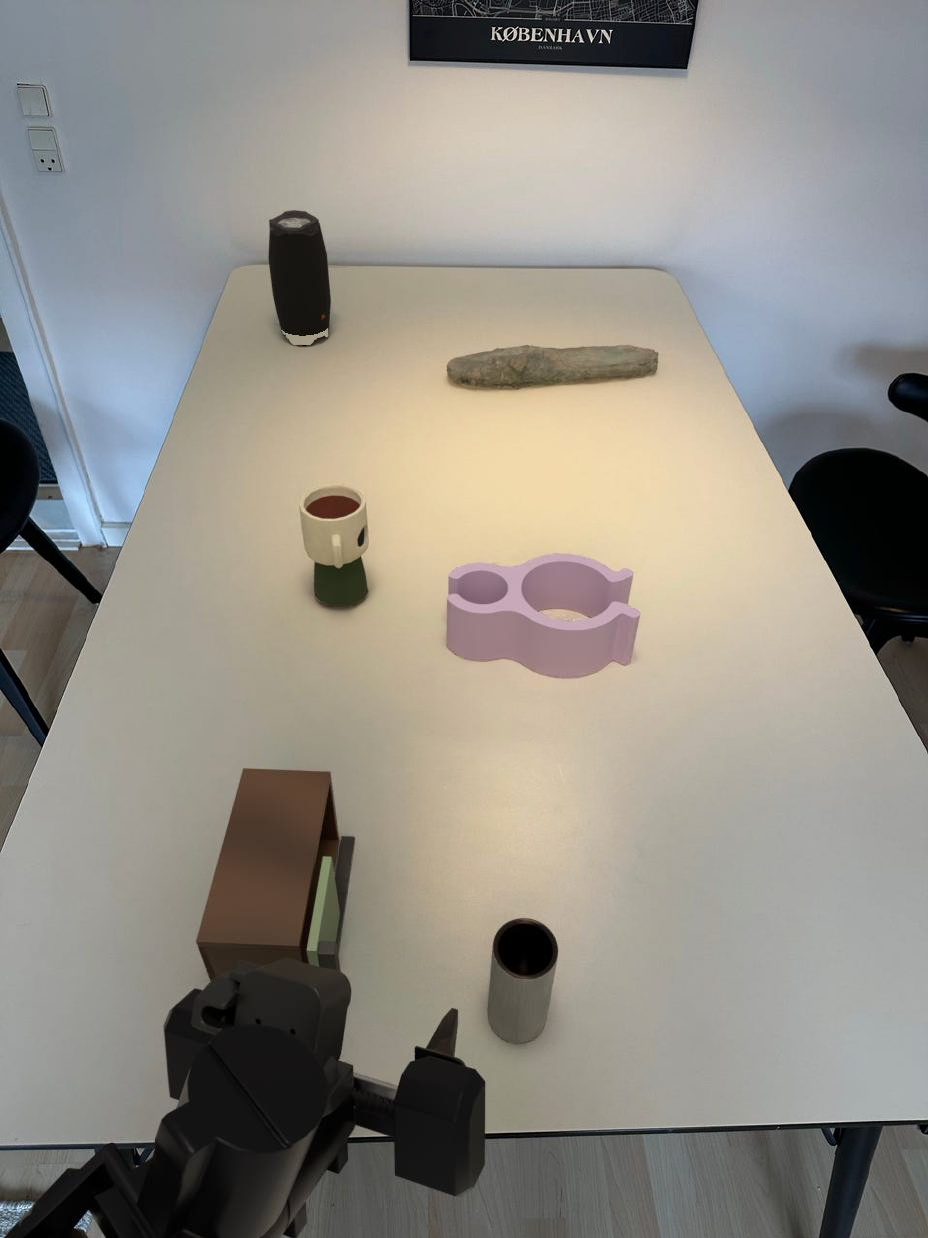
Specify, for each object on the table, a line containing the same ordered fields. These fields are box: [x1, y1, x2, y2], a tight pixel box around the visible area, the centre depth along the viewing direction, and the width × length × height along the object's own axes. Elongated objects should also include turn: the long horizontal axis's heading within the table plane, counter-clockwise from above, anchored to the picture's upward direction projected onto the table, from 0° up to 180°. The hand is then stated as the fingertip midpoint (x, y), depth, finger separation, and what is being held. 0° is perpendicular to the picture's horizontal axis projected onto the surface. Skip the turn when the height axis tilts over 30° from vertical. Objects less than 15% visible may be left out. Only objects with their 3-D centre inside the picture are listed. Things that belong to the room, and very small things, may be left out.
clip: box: [446, 552, 641, 679], centre depth 98 cm, size 20×12×7 cm, turn 88°
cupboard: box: [195, 767, 356, 982], centre depth 71 cm, size 15×9×10 cm, turn 178°
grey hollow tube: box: [487, 917, 559, 1044], centre depth 65 cm, size 4×4×10 cm
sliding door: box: [307, 856, 342, 972], centre depth 68 cm, size 8×2×8 cm, turn 178°
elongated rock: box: [446, 344, 660, 390], centre depth 144 cm, size 35×5×10 cm
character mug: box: [298, 483, 370, 607], centre depth 100 cm, size 11×7×13 cm, turn 9°
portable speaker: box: [267, 209, 332, 336], centre depth 148 cm, size 9×9×20 cm
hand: (387, 996), depth 57 cm, fingers open, 9 cm apart
